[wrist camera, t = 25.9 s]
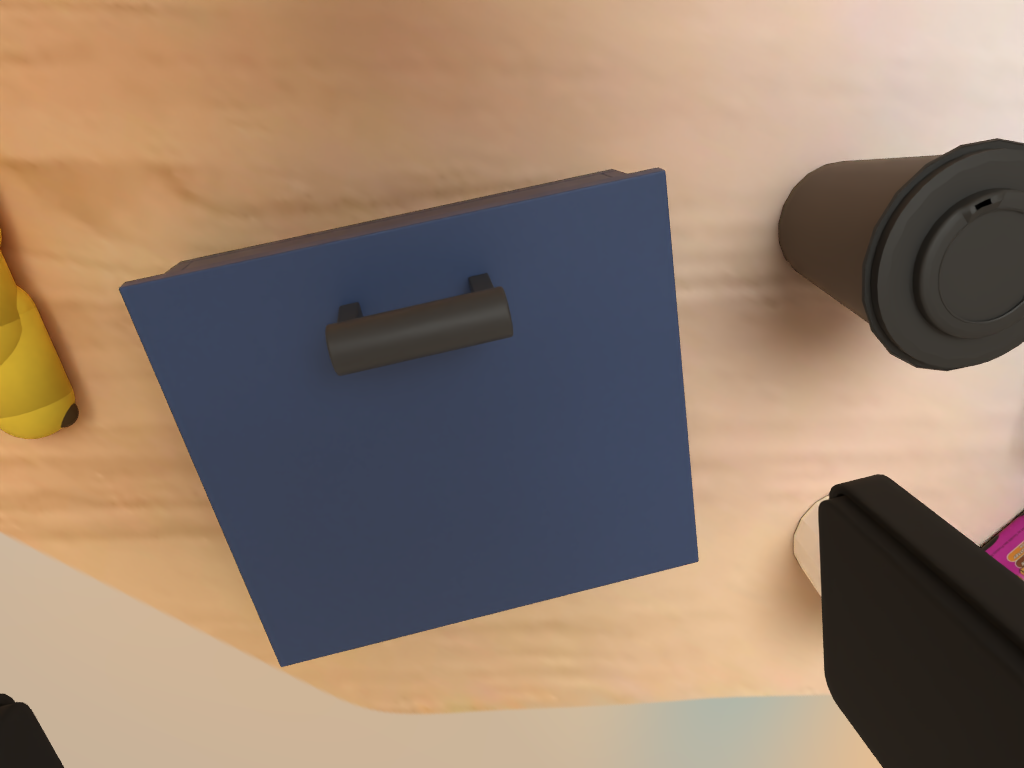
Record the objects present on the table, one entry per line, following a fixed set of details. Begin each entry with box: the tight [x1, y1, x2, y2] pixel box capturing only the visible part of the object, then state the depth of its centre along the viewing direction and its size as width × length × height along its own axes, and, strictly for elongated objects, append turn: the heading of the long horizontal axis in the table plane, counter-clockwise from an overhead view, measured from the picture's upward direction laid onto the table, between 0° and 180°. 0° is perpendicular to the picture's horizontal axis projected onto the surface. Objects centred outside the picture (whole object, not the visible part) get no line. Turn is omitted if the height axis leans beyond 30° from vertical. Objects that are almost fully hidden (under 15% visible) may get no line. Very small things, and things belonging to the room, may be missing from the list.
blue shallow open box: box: [166, 169, 626, 273], centre depth 32 cm, size 16×18×5 cm
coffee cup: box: [779, 138, 1024, 371], centre depth 30 cm, size 8×8×10 cm
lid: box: [119, 168, 699, 667], centre depth 27 cm, size 17×18×5 cm
